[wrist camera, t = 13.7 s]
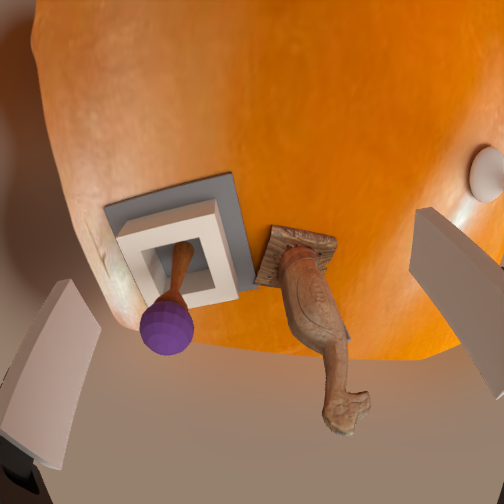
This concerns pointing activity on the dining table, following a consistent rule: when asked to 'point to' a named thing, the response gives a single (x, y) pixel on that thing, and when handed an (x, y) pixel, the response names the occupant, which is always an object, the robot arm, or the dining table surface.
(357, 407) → the bird sculpture
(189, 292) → the socket
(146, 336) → the kendama
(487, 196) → the flower in vase
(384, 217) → the dining table surface
